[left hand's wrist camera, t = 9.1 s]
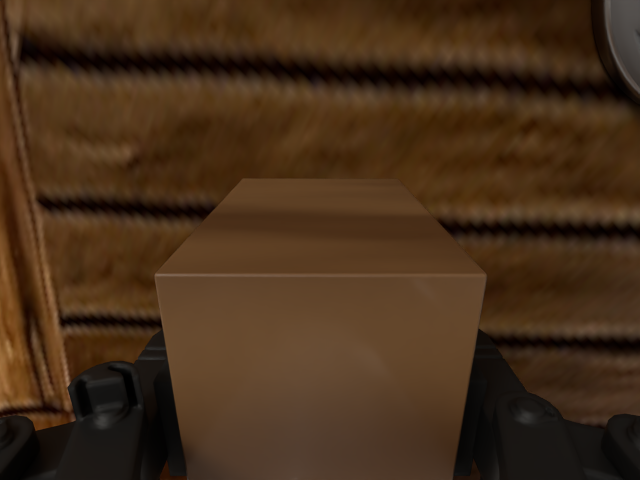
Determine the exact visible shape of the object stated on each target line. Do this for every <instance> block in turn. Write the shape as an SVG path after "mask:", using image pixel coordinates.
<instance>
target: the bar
mask: <svg viewBox="0 0 640 480" xmlns="http://www.w3.org/2000/svg"><path fill="white" fill-rule="evenodd" d="M486 281H487V274H486V273H485V272H484V271H483V270H482V269H481V268H480V267H479V266H478V264H477V263H476V262H475V261H474V260H473V259H472V258H471V257H470V256H469V255H468V254H467V253H466V252H465V251H464V249H463V248H462V247H461V246H460V245H459V244H458V243H457V242H456V241H455V240H454V239H453V238H452V237H451V235H450V234H449V233H448V232H447V231H446V230H445V229H444V228H443V227H442V226H441V225H440V224H439V223H438V222H437V220H436V219H435V218H434V217H433V216H432V215H431V214H430V213H429V212H428V211H427V210H426V209H425V208H424V206H423V205H422V204H421V203H420V202H419V201H418V200H417V199H416V198H415V197H414V196H413V195H412V194H411V193H410V191H409V190H408V189H407V188H406V187H405V186H404V185H403V184H402V183H401V182H400V181H399V180H398V179H242V180H241V181H240V182H239V183H238V184H237V185H236V187H235V188H234V189H233V190H232V191H231V192H230V193H229V194H228V195H227V196H226V197H225V198H224V199H223V201H222V202H221V203H220V204H219V205H218V206H217V207H216V208H215V209H214V210H213V211H212V212H211V214H210V215H209V216H208V217H207V218H206V219H205V220H204V221H203V222H202V223H201V224H200V225H199V226H198V228H197V229H196V230H195V231H194V232H193V233H192V234H191V235H190V236H189V237H188V238H187V239H186V241H185V242H184V243H183V244H182V245H181V246H180V247H179V248H178V249H177V250H176V251H175V252H174V254H173V255H172V256H171V257H170V258H169V259H168V260H167V261H166V262H165V263H164V264H163V265H162V266H161V268H160V269H159V270H158V271H157V272H156V273H155V283H156V289H157V295H158V301H159V307H160V314H161V320H162V326H163V332H164V338H165V344H166V350H167V357H168V363H169V369H170V375H171V381H172V387H173V393H174V399H175V406H176V412H177V418H178V424H179V430H180V436H181V442H182V449H183V455H184V461H185V467H186V473H187V479H188V480H453V475H454V469H455V463H456V457H457V452H458V446H459V440H460V434H461V428H462V422H463V416H464V410H465V404H466V398H467V393H468V387H469V381H470V375H471V369H472V363H473V357H474V351H475V345H476V340H477V334H478V328H479V322H480V316H481V310H482V304H483V298H484V292H485V286H486Z"/></svg>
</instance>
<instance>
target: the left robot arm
mask: <svg viewBox="0 0 640 480" xmlns="http://www.w3.org/2000/svg"><path fill="white" fill-rule="evenodd" d="M592 23H593V31H594V36H595V41H596V45H597V48H598V51H599V54H600V57H601V59H602V61H603V64H604V66H605V68H606V70H607V71H608V73H609V75H610V76H611V78H612V79H613V81H614V82H615V83H616V84H617V86H618V87H619V88H620V89H621V90H622V91H623V92H624V93H625V94H626V95H627V96H628V97H629V98H631V99H632V100H633V101H635V102H636V103H638V104H639V105H640V0H592ZM68 391H69V395H70V399H71V402H72V406H73V409H74V413H75V416H76V421H74V422H70V423H67V424H63V425H59V426H55V427H51V428H46V429H42V430H38V431H35V428H34V425H33V422H32V421H31V420H30V419H29V418H27V417H25V416H17V415H15V416H8V417H2V418H0V480H160V478H159V477H160V474H161V472H162V470H163V467H164V465H165V462H166V460H167V461H168V466H169V472H170V476H187V473H186V467H185V461H184V455H183V449H182V442H181V436H180V430H179V424H178V418H177V412H176V406H175V399H174V393H173V387H172V381H171V375H170V369H169V363H168V357H167V350H166V344H165V338H164V332H163V329H162V330H161V331H159V332H158V333H157V334H155V335H154V336H153V337H152V338H151V340H150V341H149V343H148V344H147V345H146V347H145V350H143V351H142V353H141V354H140V356H139V357H138V360H136V361H135V363H134V364H132V363H129V362H125V361H111V362H107V363H103V364H99V365H96V366H94V367H92V368H90V369H88V370H86V371H84V372H82V373H81V374H80V375H78V376H77V377H76V378H74V379H73V381H72V382H71V383H70V385H69V386H68ZM473 458H474V460H475V462H476V465H477V467H478V469H479V472H480V474H481V478H480V480H640V416H636V415H630V414H620V415H614V416H613V417H612V418H610V419H609V420H608V423H607V426H606V429H601V428H597V427H592V426H588V425H584V424H580V423H575V422H572V421H569V420H565V419H563V417H562V416H561V414H560V412H559V411H558V409H556V408H555V407H554V406H553V405H552V404H550V403H549V402H548V401H546V400H545V399H543V398H541V397H539V396H537V395H535V394H531V393H528V392H527V391H526V389H525V388H524V386H523V385H522V384H521V382H520V381H519V379H518V378H517V376H516V375H515V374H514V372H513V371H512V369H511V368H510V366H509V365H508V364H507V362H506V361H505V359H503V358H502V355H501V354H500V352H499V351H498V349H496V346H495V345H494V343H493V342H492V341H491V339H490V338H489V336H488V335H487V334H486V333H484V332H483V331H481V330H480V329H479V328H478V334H477V340H476V345H475V351H474V357H473V363H472V369H471V375H470V381H469V387H468V393H467V398H466V404H465V410H464V416H463V422H462V428H461V434H460V440H459V446H458V452H457V457H456V463H455V469H454V475H453V476H470V473H471V468H472V462H473Z"/></svg>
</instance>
